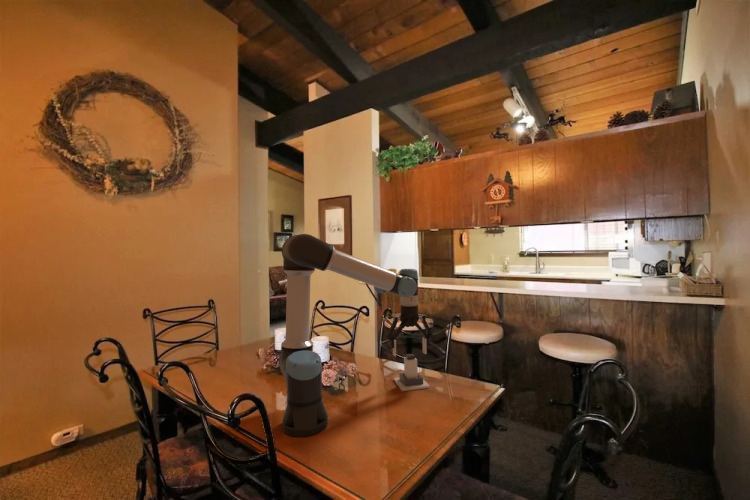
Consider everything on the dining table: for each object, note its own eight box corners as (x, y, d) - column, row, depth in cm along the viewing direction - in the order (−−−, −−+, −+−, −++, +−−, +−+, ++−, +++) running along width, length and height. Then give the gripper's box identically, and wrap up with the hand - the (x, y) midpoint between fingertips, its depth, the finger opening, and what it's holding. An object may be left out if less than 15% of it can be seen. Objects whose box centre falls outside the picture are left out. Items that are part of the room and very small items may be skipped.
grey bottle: (407, 384, 142) (407, 357, 142) (404, 380, 146) (403, 353, 146) (417, 383, 143) (417, 356, 143) (414, 379, 147) (413, 352, 147)
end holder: (402, 391, 138) (401, 382, 138) (393, 380, 149) (393, 372, 149) (429, 387, 140) (429, 379, 140) (419, 377, 152) (419, 369, 152)
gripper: (383, 307, 138) (383, 359, 138) (439, 304, 144) (440, 354, 144) (379, 304, 146) (379, 353, 145) (433, 302, 151) (433, 349, 151)
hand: (409, 354), depth 145 cm, fingers open, 13 cm apart
